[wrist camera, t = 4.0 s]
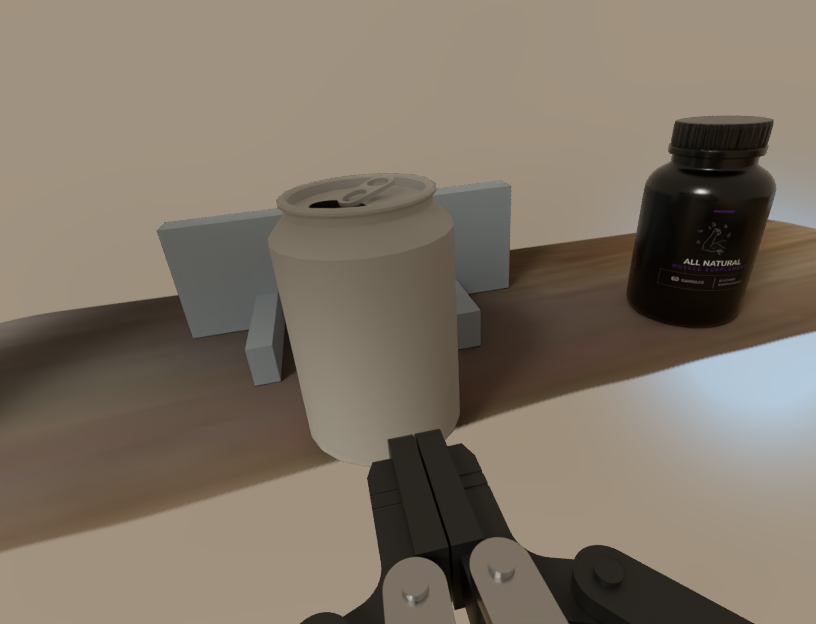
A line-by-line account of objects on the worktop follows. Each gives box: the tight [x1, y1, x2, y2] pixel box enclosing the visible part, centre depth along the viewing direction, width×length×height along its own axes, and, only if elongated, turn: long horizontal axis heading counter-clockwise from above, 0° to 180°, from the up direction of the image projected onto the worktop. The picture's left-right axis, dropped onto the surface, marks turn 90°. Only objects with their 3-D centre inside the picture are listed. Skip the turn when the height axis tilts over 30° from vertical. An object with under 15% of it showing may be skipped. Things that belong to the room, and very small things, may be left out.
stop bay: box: [157, 181, 511, 386], centre depth 30 cm, size 24×10×8 cm, turn 102°
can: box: [268, 173, 460, 467], centre depth 21 cm, size 8×8×12 cm
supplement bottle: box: [626, 116, 776, 327], centre depth 29 cm, size 7×7×12 cm
